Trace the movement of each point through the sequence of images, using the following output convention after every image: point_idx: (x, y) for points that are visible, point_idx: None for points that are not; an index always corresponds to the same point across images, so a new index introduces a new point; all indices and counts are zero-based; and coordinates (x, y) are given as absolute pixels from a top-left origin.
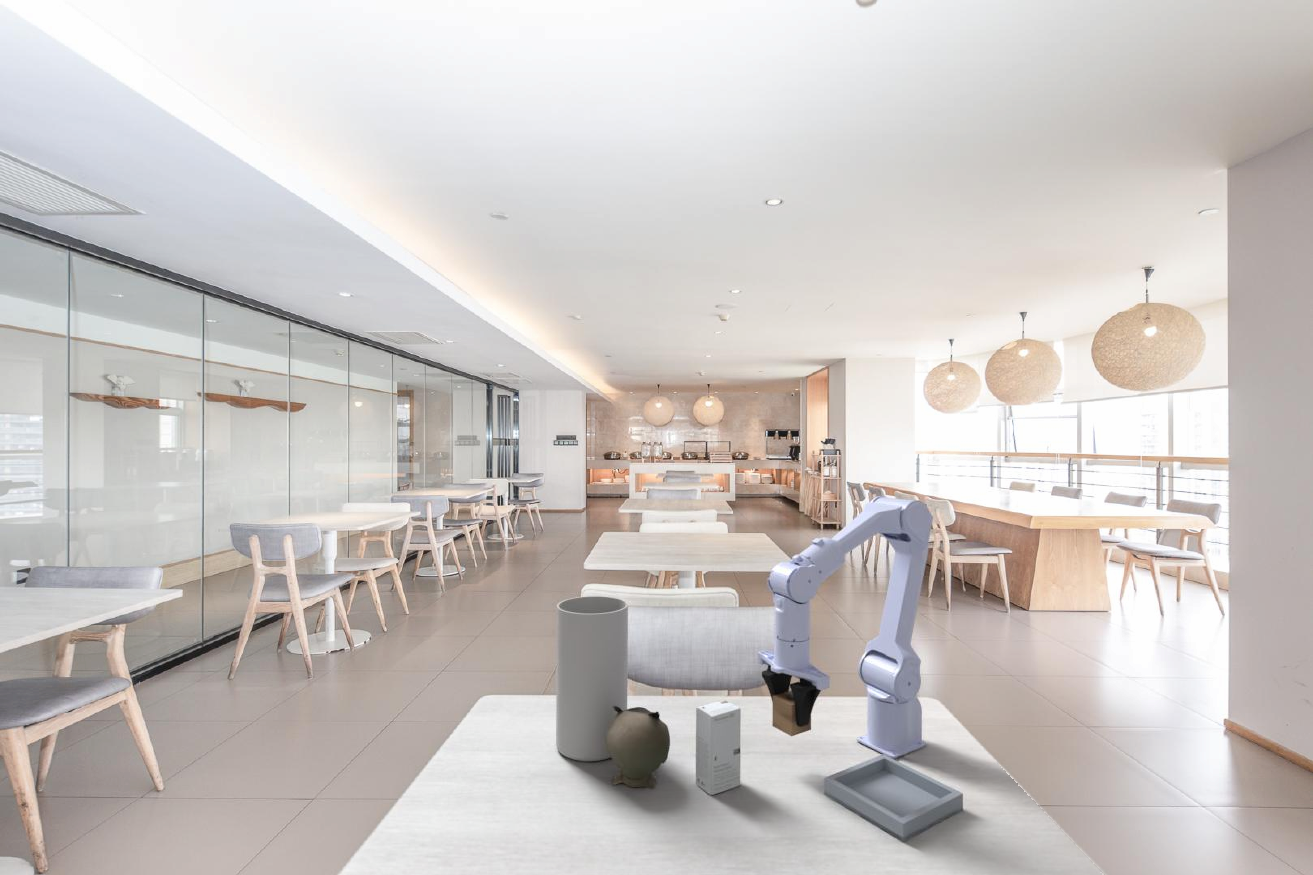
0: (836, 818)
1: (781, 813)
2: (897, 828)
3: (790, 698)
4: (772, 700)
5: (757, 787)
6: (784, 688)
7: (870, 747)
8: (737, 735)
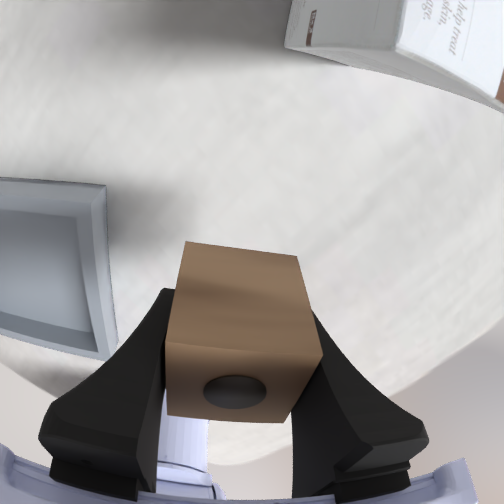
0: (32, 130)
1: (114, 33)
2: None
3: (225, 382)
4: (330, 341)
5: (240, 74)
6: (301, 417)
7: None
8: (330, 24)
